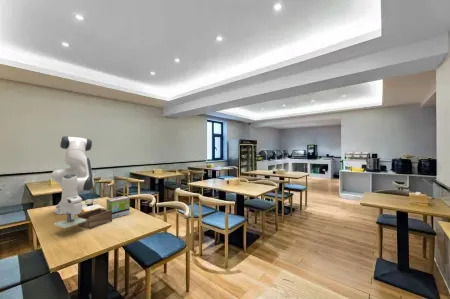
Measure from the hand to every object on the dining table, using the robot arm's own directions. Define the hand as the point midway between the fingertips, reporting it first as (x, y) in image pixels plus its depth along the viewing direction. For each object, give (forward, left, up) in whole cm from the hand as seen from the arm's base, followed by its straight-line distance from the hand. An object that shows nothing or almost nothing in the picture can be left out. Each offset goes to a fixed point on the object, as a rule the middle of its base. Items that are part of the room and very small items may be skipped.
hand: (70, 218), depth 137 cm
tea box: (0, +36, -9) cm, 37 cm away
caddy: (0, +17, -9) cm, 19 cm away
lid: (0, 0, -3) cm, 3 cm away
